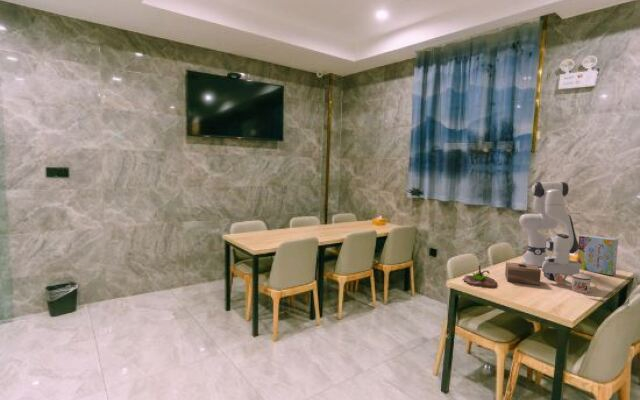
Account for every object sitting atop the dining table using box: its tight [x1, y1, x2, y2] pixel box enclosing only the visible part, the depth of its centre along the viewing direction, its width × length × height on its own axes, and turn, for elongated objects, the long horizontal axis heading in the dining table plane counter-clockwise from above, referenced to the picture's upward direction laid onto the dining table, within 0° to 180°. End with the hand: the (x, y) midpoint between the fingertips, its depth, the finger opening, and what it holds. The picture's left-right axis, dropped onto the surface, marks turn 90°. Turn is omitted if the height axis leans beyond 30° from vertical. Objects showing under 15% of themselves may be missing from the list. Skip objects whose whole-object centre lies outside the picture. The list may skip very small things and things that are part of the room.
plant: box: [462, 264, 498, 289], centre depth 226 cm, size 20×20×11 cm
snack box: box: [577, 234, 619, 276], centre depth 260 cm, size 22×9×26 cm, turn 34°
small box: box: [543, 272, 561, 281], centre depth 240 cm, size 11×6×10 cm, turn 168°
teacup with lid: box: [571, 271, 598, 294], centre depth 212 cm, size 12×9×12 cm
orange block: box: [555, 274, 564, 285], centre depth 228 cm, size 5×2×5 cm, turn 158°
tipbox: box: [504, 261, 542, 287], centre depth 232 cm, size 14×18×10 cm
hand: (559, 280), depth 229 cm, fingers closed on orange block, 2 cm apart
